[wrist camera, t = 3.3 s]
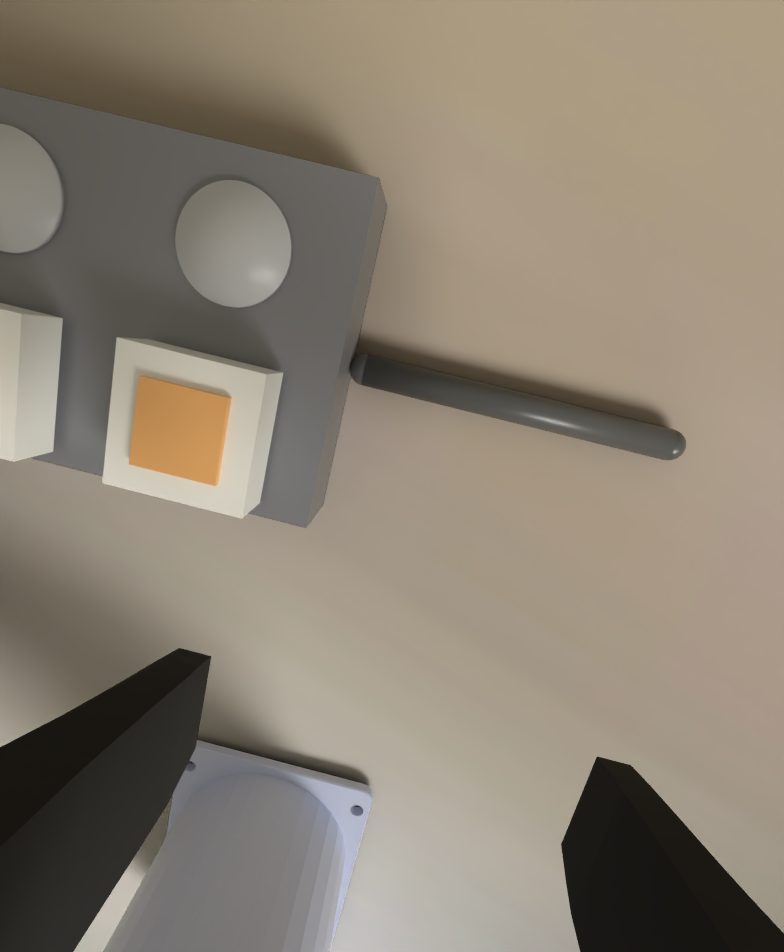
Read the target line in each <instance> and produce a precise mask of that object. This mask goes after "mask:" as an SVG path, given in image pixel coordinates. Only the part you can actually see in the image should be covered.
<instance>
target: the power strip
mask: <svg viewBox="0 0 784 952" xmlns="http://www.w3.org/2000/svg"><path fill="white" fill-rule="evenodd" d="M386 209H387V203H386V200H385V196H384V193H383V190H382V186H381V183H380V180H379V178H378V177H374V176H370V175H365V174H361V173H357V172H353V171H349V170H344V169H340V168H336V167H332V166H328V165H324V164H319V163H315V162H311V161H307V160H303V159H299V158H294V157H290V156H286V155H282V154H278V153H273V152H269V151H265V150H261V149H257V148H253V147H248V146H244V145H240V144H236V143H232V142H228V141H223V140H219V139H215V138H211V137H207V136H202V135H198V134H194V133H190V132H186V131H182V130H177V129H173V128H169V127H165V126H161V125H157V124H152V123H148V122H144V121H140V120H136V119H131V118H127V117H123V116H119V115H115V114H111V113H106V112H102V111H98V110H94V109H90V108H86V107H81V106H77V105H73V104H69V103H65V102H60V101H56V100H52V99H48V98H44V97H40V96H35V95H31V94H27V93H23V92H19V91H15V90H10V89H6V88H2V87H0V303H4V304H8V305H12V306H16V307H20V308H24V309H28V310H32V311H36V312H40V313H44V314H48V315H52V316H56V317H60V318H63V323H62V337H61V351H60V365H59V378H58V392H57V406H56V419H55V433H54V447H53V452H50V453H46V454H42V455H38V456H34V457H30V458H33V459H36V460H40V461H44V462H48V463H52V464H56V465H60V466H64V467H68V468H72V469H76V470H80V471H84V472H88V473H92V474H95V475H99V476H103V470H104V460H105V450H106V440H107V430H108V420H109V410H110V400H111V390H112V380H113V369H114V359H115V349H116V339H117V337H121V338H138V339H150V340H154V341H158V342H162V343H166V344H170V345H174V346H178V347H182V348H186V349H190V350H194V351H198V352H203V353H207V354H211V355H215V356H219V357H223V358H227V359H231V360H235V361H239V362H243V363H247V364H251V365H255V366H259V367H263V368H267V369H271V370H275V371H279V372H283V378H282V383H281V389H280V394H279V400H278V405H277V411H276V416H275V422H274V427H273V433H272V439H271V444H270V450H269V455H268V461H267V466H266V472H265V477H264V483H263V488H262V494H261V499H260V503H259V504H258V505H257V506H256V507H255V508H254V509H252V510H251V511H250V512H249V514H253V515H257V516H261V517H265V518H269V519H273V520H277V521H281V522H284V523H288V524H292V525H296V526H300V527H304V528H307V526H308V525H309V523H310V522H311V521H312V519H313V518H314V517H315V515H316V514H317V513H318V511H319V510H320V508H321V507H322V506H323V503H324V498H325V494H326V489H327V484H328V480H329V475H330V470H331V466H332V461H333V456H334V452H335V447H336V442H337V438H338V433H339V428H340V424H341V419H342V414H343V409H344V405H345V400H346V395H347V391H348V386H349V381H350V377H351V376H352V378H353V380H354V381H355V382H357V383H358V384H361V385H364V386H368V387H372V388H376V389H380V390H384V391H388V392H392V393H396V394H400V395H404V396H408V397H412V398H416V399H420V400H424V401H428V402H432V403H436V404H440V405H444V406H448V407H453V408H457V409H461V410H465V411H469V412H473V413H477V414H481V415H485V416H489V417H493V418H497V419H501V420H505V421H509V422H513V423H517V424H521V425H525V426H529V427H533V428H537V429H541V430H545V431H549V432H553V433H557V434H561V435H565V436H570V437H574V438H578V439H582V440H586V441H590V442H594V443H598V444H602V445H606V446H610V447H614V448H618V449H622V450H626V451H630V452H634V453H638V454H642V455H646V456H650V457H654V458H658V459H662V460H673V459H676V458H678V457H679V456H681V455H682V454H683V452H684V451H685V448H686V440H685V438H684V436H683V435H682V434H681V433H680V432H678V431H676V430H674V429H669V428H665V427H661V426H657V425H653V424H649V423H645V422H641V421H637V420H633V419H629V418H625V417H621V416H617V415H613V414H609V413H605V412H600V411H596V410H592V409H588V408H584V407H580V406H576V405H572V404H568V403H564V402H560V401H556V400H552V399H548V398H544V397H540V396H536V395H532V394H527V393H523V392H519V391H515V390H511V389H507V388H503V387H499V386H495V385H491V384H487V383H483V382H479V381H475V380H471V379H467V378H463V377H459V376H454V375H450V374H446V373H442V372H438V371H434V370H430V369H426V368H422V367H418V366H414V365H410V364H406V363H402V362H398V361H394V360H390V359H386V358H381V357H377V356H373V355H369V354H362V355H359V356H357V357H356V358H355V353H356V349H357V344H358V339H359V335H360V330H361V325H362V321H363V316H364V311H365V307H366V302H367V297H368V293H369V288H370V283H371V279H372V274H373V269H374V265H375V260H376V255H377V251H378V246H379V241H380V237H381V232H382V227H383V223H384V218H385V213H386Z"/></svg>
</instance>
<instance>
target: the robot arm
mask: <svg viewBox="0 0 784 952" xmlns="http://www.w3.org/2000/svg"><path fill="white" fill-rule="evenodd" d="M210 660H211V656H208V655H204V654H200V653H196V652H192V651H188V650H184V649H181V648H179V649H177V650H175V651H173V652H171V653H170V654H168V655H166V656H164V657H163V658H161V659H159V660H157V661H156V662H154V663H152V664H151V665H149V666H147V667H146V668H144V669H142V670H140V671H139V672H137V673H135V674H134V675H132V676H130V677H129V678H127V679H125V680H124V681H122V682H120V683H118V684H117V685H115V686H113V687H112V688H110V689H108V690H106V691H105V692H103V693H101V694H99V695H97V696H96V697H94V698H92V699H90V700H89V701H87V702H85V703H83V704H82V705H80V706H78V707H76V708H74V709H73V710H71V711H69V712H67V713H65V714H64V715H62V716H60V717H58V718H56V719H54V720H52V721H50V722H49V723H47V724H45V725H43V726H41V727H39V728H37V729H35V730H33V731H31V732H29V733H27V734H25V735H23V736H21V737H19V738H18V739H16V740H14V741H12V742H10V743H8V744H6V745H4V746H2V747H0V952H73V951H74V950H75V948H76V946H77V945H78V943H79V942H80V940H81V939H82V937H83V936H84V934H85V932H86V931H87V929H88V928H89V926H90V925H91V923H92V922H93V920H94V918H95V917H96V915H97V914H98V912H99V911H100V909H101V908H102V906H103V904H104V903H105V901H106V900H107V898H108V897H109V895H110V894H111V892H112V890H113V889H114V887H115V886H116V884H117V883H118V881H119V880H120V878H121V876H122V875H123V873H124V872H125V870H126V869H127V867H128V866H129V864H130V862H131V861H132V859H133V858H134V856H135V855H136V853H137V852H138V850H139V848H140V847H141V845H142V844H143V842H144V841H145V839H146V837H147V836H148V834H149V833H150V831H151V829H152V828H153V826H154V825H155V823H156V822H157V820H158V818H159V817H160V815H161V814H162V812H163V810H164V809H165V807H166V806H167V804H168V802H169V800H170V798H171V796H172V794H173V797H172V803H171V809H170V815H169V822H168V828H167V834H166V839H165V840H164V842H163V844H162V846H161V848H160V850H159V851H158V853H157V855H156V857H155V859H154V860H153V862H152V864H151V866H150V868H149V869H148V871H147V873H146V875H145V877H144V878H143V880H142V882H141V884H140V886H139V888H138V889H137V891H136V893H135V895H134V897H133V898H132V900H131V902H130V904H129V906H128V907H127V909H126V911H125V913H124V915H123V916H122V918H121V920H120V922H119V924H118V926H117V927H116V929H115V931H114V933H113V935H112V936H111V938H110V940H109V942H108V944H107V945H106V947H105V949H104V951H103V952H330V949H331V946H332V942H333V939H334V935H335V931H336V928H337V924H338V921H339V917H340V914H341V910H342V907H343V903H344V900H345V896H346V893H347V889H348V885H349V882H350V878H351V875H352V871H353V868H354V864H355V861H356V857H357V854H358V850H359V847H360V843H361V839H362V836H363V832H364V829H365V825H366V822H367V818H368V815H369V811H370V808H371V804H372V798H373V792H372V790H371V788H370V787H369V786H367V785H365V784H363V783H359V782H355V781H351V780H347V779H344V778H340V777H336V776H332V775H328V774H325V773H321V772H317V771H313V770H309V769H306V768H302V767H298V766H294V765H290V764H287V763H283V762H279V761H275V760H271V759H268V758H264V757H260V756H256V755H252V754H249V753H245V752H241V751H237V750H234V749H230V748H226V747H222V746H218V745H215V744H211V743H207V742H203V741H199V740H197V737H198V731H199V725H200V719H201V713H202V707H203V701H204V695H205V690H206V684H207V678H208V672H209V666H210ZM189 761H191V762H193V763H194V764H192V763H190V762H189ZM354 805H359V806H360V807H355V806H354ZM561 846H562V853H563V861H564V869H565V877H566V884H567V890H568V897H569V903H570V909H571V915H572V919H573V923H574V927H575V932H576V936H577V940H578V944H579V948H580V952H784V933H783V932H782V931H781V930H780V929H779V928H778V927H777V926H776V925H775V924H774V923H773V922H772V921H771V919H770V918H769V917H768V916H767V915H766V914H765V913H764V912H763V911H762V910H761V909H760V908H759V907H758V906H757V904H756V903H755V902H754V901H753V900H752V899H751V898H750V897H749V896H748V895H747V894H746V892H745V891H744V890H743V889H742V888H741V887H740V886H739V885H738V884H737V883H736V882H735V880H734V879H733V878H732V877H731V876H730V875H729V874H728V873H727V872H726V870H725V869H724V868H723V867H722V866H721V865H720V864H719V863H718V861H717V860H716V859H715V858H714V857H713V856H712V855H711V854H710V853H709V851H708V850H707V849H706V848H705V847H704V846H703V845H702V844H701V842H700V841H699V840H698V839H697V838H696V837H695V836H694V834H693V833H692V832H691V831H690V830H689V829H688V828H687V827H686V825H685V824H684V823H683V822H682V821H681V820H680V819H679V817H678V816H677V815H676V814H675V813H674V812H673V811H672V810H671V808H670V807H669V806H668V805H667V804H666V803H665V802H664V801H663V799H662V798H661V797H660V796H659V795H658V794H657V793H656V792H655V791H654V789H653V788H652V787H651V786H650V785H649V784H648V783H647V782H646V781H645V780H644V779H643V778H642V776H641V775H640V774H639V773H638V772H637V771H636V770H635V769H634V768H633V767H632V766H631V765H628V764H624V763H620V762H616V761H612V760H608V759H605V758H601V757H597V758H596V760H595V763H594V765H593V768H592V770H591V773H590V775H589V778H588V780H587V782H586V785H585V787H584V790H583V792H582V795H581V797H580V800H579V802H578V805H577V807H576V810H575V812H574V814H573V817H572V819H571V822H570V824H569V827H568V829H567V832H566V834H565V837H564V839H563V841H562V844H561Z"/></svg>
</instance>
